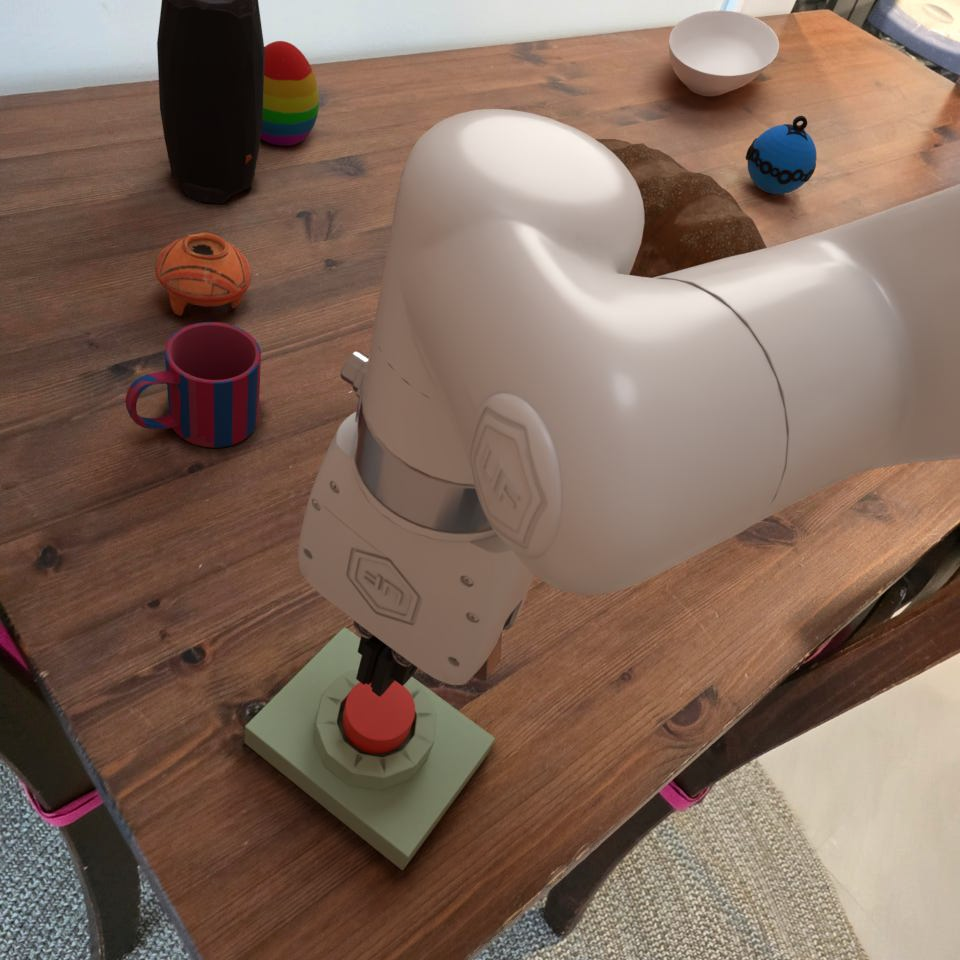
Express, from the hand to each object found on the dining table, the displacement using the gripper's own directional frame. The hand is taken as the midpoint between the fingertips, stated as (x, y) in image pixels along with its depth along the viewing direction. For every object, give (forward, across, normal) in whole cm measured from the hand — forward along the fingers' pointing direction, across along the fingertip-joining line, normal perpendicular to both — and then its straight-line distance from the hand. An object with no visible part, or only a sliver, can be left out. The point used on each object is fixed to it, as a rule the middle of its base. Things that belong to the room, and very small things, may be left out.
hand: (385, 669), depth 48 cm
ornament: (+10, -7, +93) cm, 94 cm away
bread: (+10, -12, +63) cm, 65 cm away
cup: (+10, -26, +12) cm, 31 cm away
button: (+5, 0, 0) cm, 5 cm away
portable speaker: (+10, -49, +37) cm, 62 cm away
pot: (+10, -36, +23) cm, 44 cm away
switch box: (+9, +1, 0) cm, 9 cm away
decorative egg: (+10, -52, +50) cm, 73 cm away
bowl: (+10, -26, +117) cm, 120 cm away
